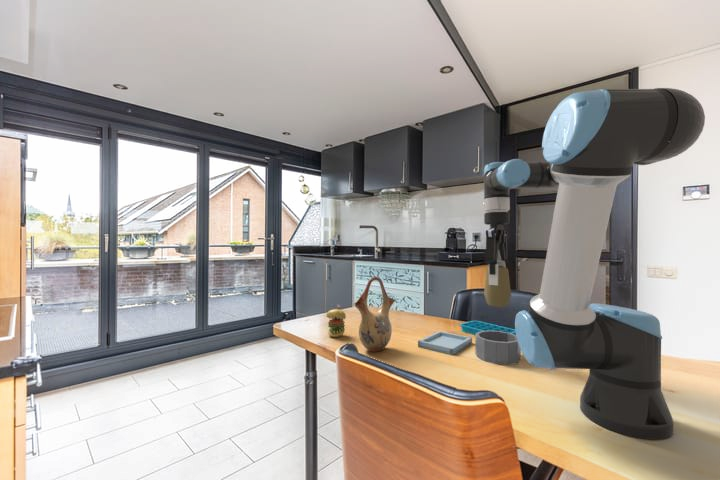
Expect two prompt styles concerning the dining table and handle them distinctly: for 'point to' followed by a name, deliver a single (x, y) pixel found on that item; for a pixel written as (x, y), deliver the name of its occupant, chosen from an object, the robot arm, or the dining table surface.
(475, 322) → the ice cube tray
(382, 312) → the ceramic vessel
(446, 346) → the tray
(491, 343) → the grey faceted ring
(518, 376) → the dining table surface
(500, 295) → the squeeze bottle
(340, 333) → the hamburger
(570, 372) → the dining table surface
